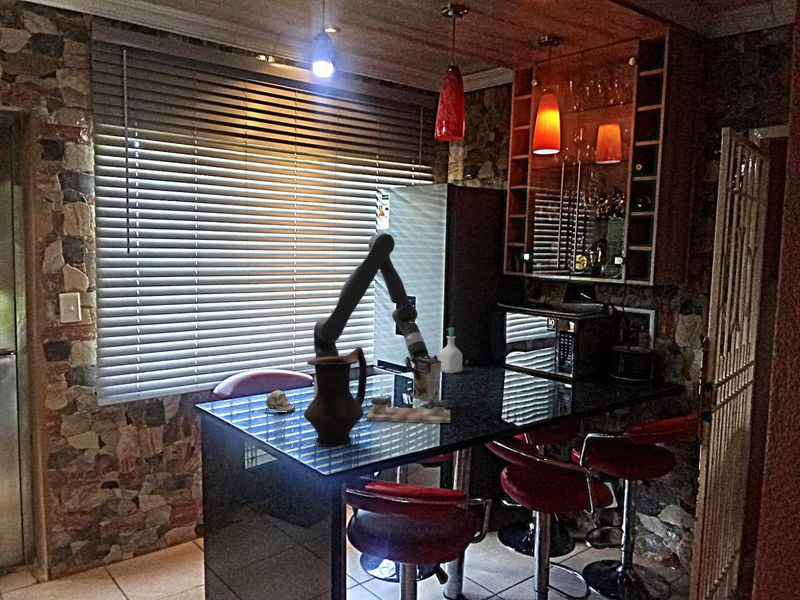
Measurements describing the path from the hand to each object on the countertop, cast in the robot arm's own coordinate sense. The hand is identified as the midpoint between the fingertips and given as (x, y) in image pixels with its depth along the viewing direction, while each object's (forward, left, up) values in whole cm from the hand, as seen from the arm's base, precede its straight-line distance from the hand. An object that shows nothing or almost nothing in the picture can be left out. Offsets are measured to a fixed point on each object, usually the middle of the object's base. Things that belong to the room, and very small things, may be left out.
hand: (428, 379), depth 244 cm
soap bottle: (+44, +59, -11) cm, 75 cm away
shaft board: (-14, -12, -11) cm, 21 cm away
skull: (-56, +15, -11) cm, 59 cm away
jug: (-49, -31, -11) cm, 59 cm away
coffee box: (0, +1, -9) cm, 9 cm away
